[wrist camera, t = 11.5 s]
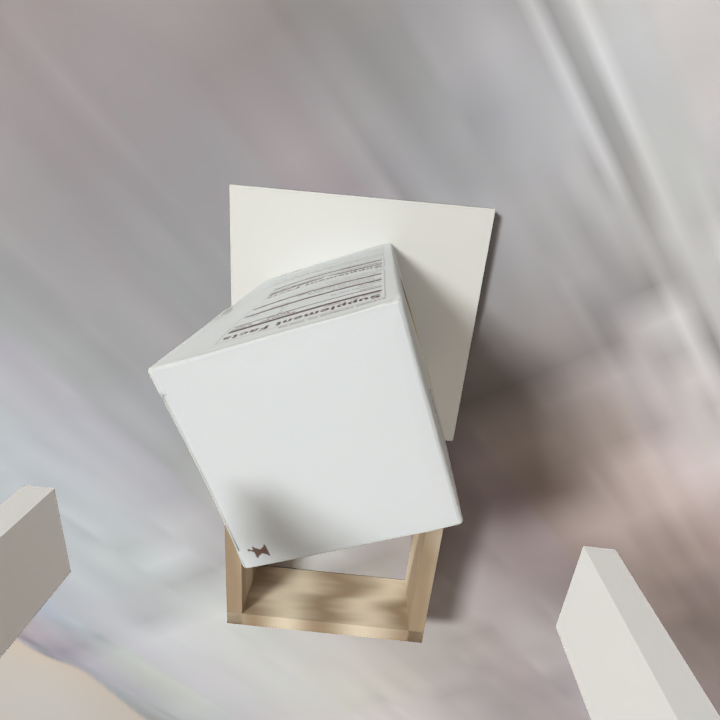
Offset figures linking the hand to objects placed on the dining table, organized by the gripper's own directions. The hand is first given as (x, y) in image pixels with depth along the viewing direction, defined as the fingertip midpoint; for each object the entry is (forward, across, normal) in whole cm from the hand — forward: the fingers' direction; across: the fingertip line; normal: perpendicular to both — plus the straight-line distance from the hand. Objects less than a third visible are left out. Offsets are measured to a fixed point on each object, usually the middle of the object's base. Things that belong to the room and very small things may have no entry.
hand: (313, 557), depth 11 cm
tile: (+22, -1, 0) cm, 22 cm away
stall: (+22, -1, -17) cm, 28 cm away
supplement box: (+22, -1, 0) cm, 22 cm away
